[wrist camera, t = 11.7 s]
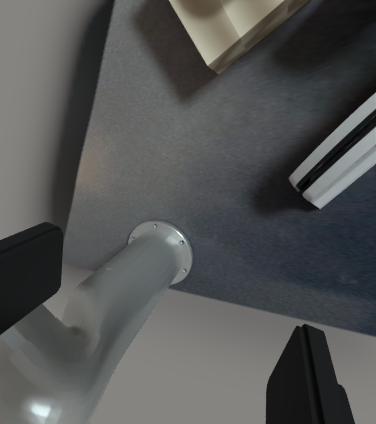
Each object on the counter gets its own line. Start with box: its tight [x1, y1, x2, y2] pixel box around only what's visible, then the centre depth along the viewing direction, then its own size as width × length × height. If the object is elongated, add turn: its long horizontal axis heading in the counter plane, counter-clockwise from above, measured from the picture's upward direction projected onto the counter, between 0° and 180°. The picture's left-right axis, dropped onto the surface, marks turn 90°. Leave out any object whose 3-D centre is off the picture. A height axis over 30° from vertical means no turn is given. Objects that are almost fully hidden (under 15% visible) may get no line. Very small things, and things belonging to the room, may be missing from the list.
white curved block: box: [289, 93, 376, 209], centre depth 29 cm, size 17×5×10 cm, turn 141°
